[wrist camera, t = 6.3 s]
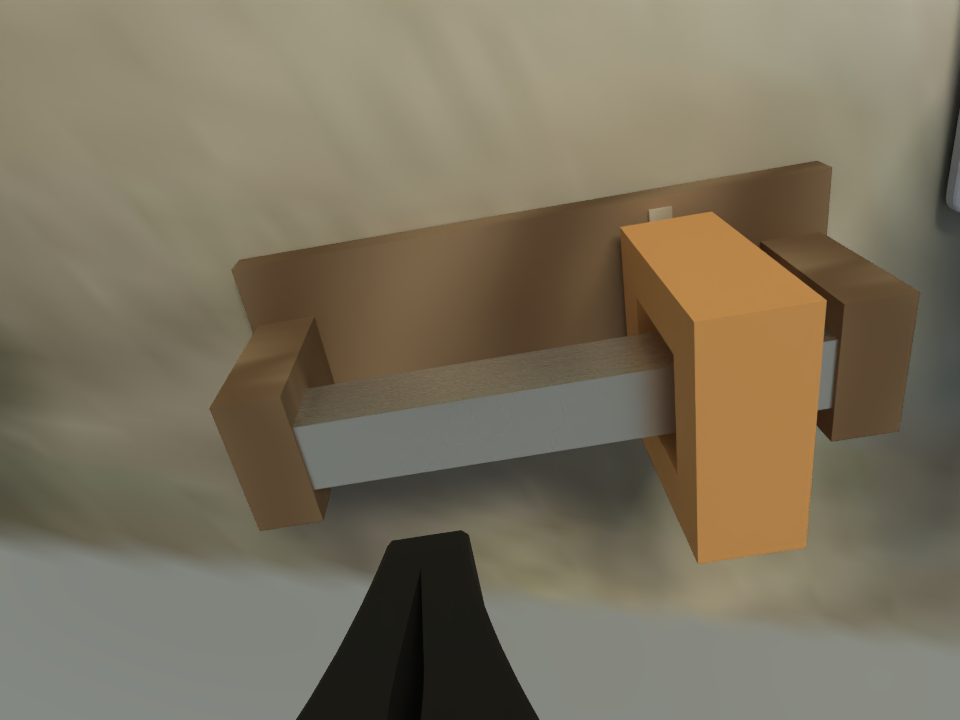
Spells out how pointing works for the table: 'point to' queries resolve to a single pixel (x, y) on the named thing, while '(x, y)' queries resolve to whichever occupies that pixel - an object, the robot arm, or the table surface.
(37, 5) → the table surface
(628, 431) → the rod
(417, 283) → the stand
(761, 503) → the collar
